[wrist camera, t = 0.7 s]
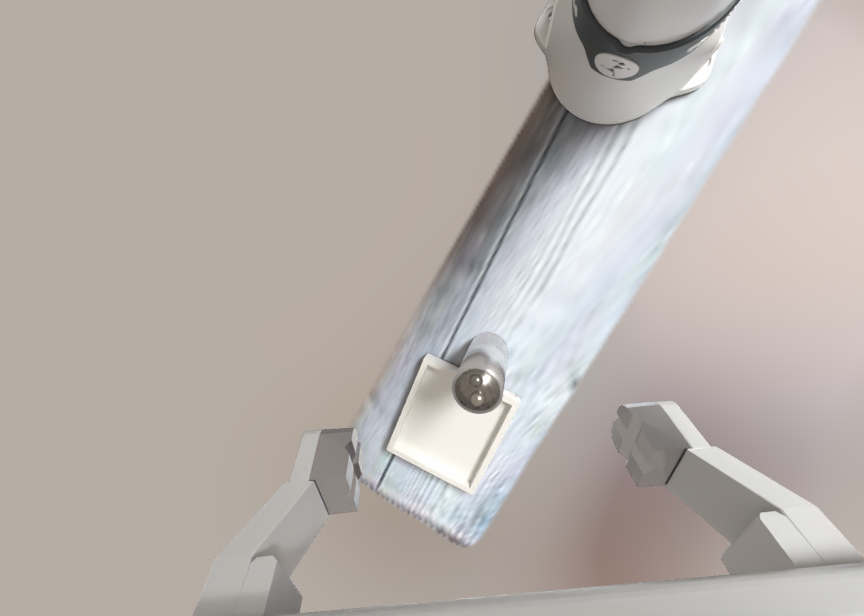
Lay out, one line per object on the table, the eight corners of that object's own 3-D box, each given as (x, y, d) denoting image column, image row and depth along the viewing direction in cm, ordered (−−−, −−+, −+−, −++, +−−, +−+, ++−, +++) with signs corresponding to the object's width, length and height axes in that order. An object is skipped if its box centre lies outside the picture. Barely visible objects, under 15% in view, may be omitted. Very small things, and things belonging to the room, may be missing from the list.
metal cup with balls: (478, 326, 49) (462, 359, 35) (514, 342, 48) (511, 382, 35) (463, 359, 50) (442, 403, 37) (498, 375, 49) (489, 426, 36)
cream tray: (427, 352, 51) (424, 357, 49) (520, 396, 49) (520, 403, 47) (390, 442, 55) (385, 449, 53) (474, 486, 53) (472, 495, 52)
